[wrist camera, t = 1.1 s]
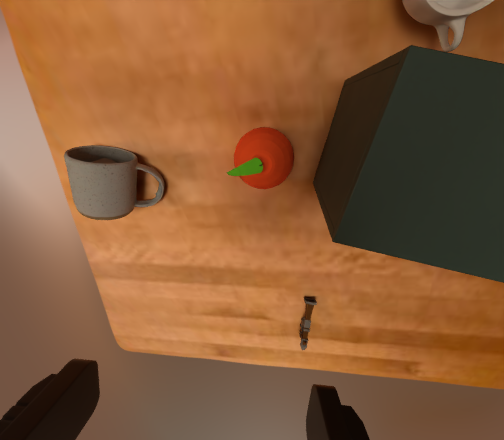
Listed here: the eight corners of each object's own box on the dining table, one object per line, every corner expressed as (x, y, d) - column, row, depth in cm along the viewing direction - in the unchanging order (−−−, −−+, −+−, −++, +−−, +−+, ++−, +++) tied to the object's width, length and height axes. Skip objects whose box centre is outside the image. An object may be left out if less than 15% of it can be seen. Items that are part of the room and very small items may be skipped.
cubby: (485, 109, 26) (726, 108, 12) (429, 209, 31) (549, 293, 17) (345, 79, 27) (410, 44, 12) (312, 182, 32) (332, 242, 18)
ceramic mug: (100, 196, 37) (57, 216, 30) (95, 142, 34) (46, 150, 27) (166, 211, 37) (139, 235, 30) (168, 158, 33) (138, 171, 26)
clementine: (243, 189, 34) (232, 207, 27) (224, 139, 31) (207, 147, 25) (299, 170, 32) (302, 186, 25) (284, 116, 29) (282, 118, 23)
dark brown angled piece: (295, 337, 43) (297, 351, 38) (302, 292, 42) (305, 301, 38) (305, 339, 42) (309, 353, 38) (312, 294, 42) (317, 303, 38)
